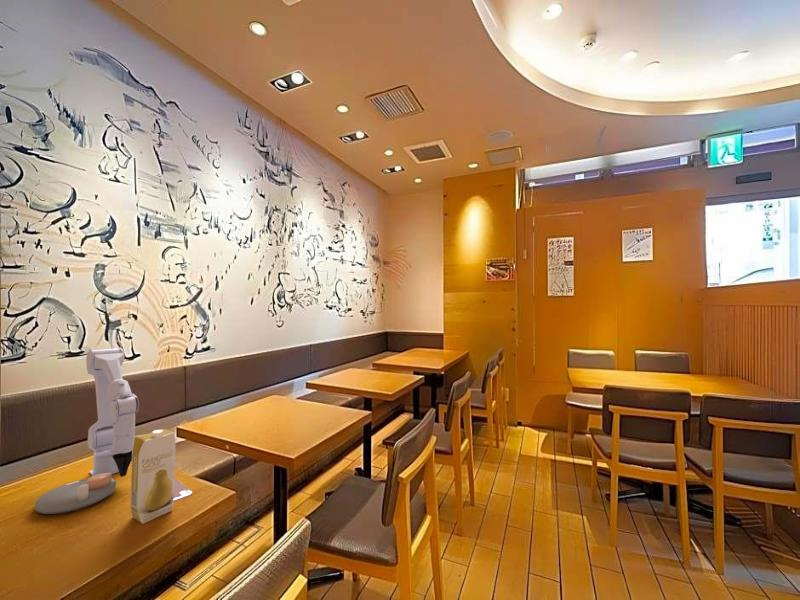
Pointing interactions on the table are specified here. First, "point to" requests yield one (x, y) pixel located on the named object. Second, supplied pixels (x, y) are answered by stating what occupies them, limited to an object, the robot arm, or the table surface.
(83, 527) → the table surface
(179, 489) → the mobile phone
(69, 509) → the turntable
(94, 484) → the pink rounded disc
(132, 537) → the table surface
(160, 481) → the juice carton
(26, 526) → the table surface
